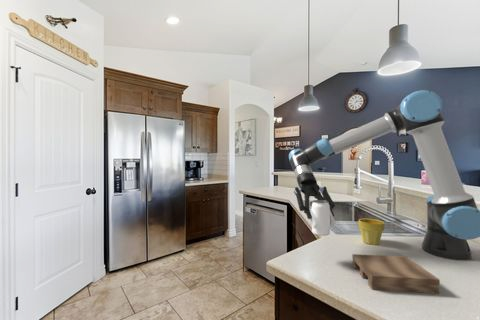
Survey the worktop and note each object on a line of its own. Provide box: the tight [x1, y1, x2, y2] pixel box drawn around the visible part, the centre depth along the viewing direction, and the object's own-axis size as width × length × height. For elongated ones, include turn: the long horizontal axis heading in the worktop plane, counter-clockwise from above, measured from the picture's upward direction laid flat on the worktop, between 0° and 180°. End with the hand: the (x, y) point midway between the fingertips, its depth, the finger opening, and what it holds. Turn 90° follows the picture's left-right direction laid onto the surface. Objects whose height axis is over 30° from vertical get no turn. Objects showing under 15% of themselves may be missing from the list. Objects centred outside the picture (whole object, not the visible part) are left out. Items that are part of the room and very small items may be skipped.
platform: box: [352, 253, 441, 294], centre depth 76 cm, size 18×16×4 cm
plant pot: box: [358, 218, 385, 246], centre depth 108 cm, size 10×10×10 cm
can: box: [311, 199, 331, 237], centre depth 89 cm, size 6×6×12 cm
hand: (324, 225), depth 86 cm, fingers closed on can, 6 cm apart
